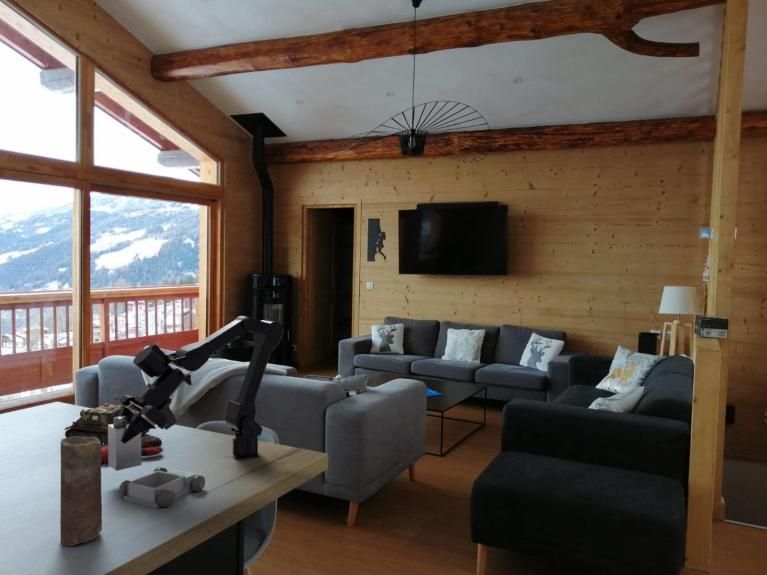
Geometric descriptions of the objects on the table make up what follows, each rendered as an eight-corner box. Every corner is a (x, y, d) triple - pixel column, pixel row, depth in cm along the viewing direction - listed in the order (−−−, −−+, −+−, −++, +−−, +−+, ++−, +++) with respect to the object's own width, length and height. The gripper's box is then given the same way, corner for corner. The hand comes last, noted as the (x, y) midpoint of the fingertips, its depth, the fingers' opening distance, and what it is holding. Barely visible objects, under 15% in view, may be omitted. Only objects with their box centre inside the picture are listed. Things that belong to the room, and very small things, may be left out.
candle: (71, 529, 120) (70, 433, 119) (108, 529, 121) (107, 433, 120) (53, 548, 113) (52, 445, 112) (93, 547, 113) (92, 444, 112)
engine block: (133, 459, 149) (132, 412, 148) (141, 465, 145) (140, 417, 144) (108, 464, 145) (107, 416, 144) (116, 470, 141) (115, 421, 140)
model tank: (90, 430, 190) (90, 384, 189) (154, 435, 186) (154, 388, 186) (63, 442, 177) (62, 393, 176) (131, 447, 174) (131, 397, 173)
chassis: (164, 478, 149) (164, 463, 149) (206, 488, 143) (206, 471, 143) (117, 498, 136) (117, 481, 136) (162, 510, 130) (162, 492, 130)
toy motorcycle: (65, 461, 165) (64, 470, 151) (65, 442, 165) (64, 449, 151) (160, 451, 176) (167, 459, 162) (160, 434, 177) (167, 440, 163)
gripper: (200, 414, 148) (157, 467, 141) (169, 400, 162) (129, 448, 155) (169, 387, 142) (122, 441, 135) (140, 375, 156) (96, 424, 149)
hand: (118, 439), depth 144 cm, fingers closed on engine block, 5 cm apart
